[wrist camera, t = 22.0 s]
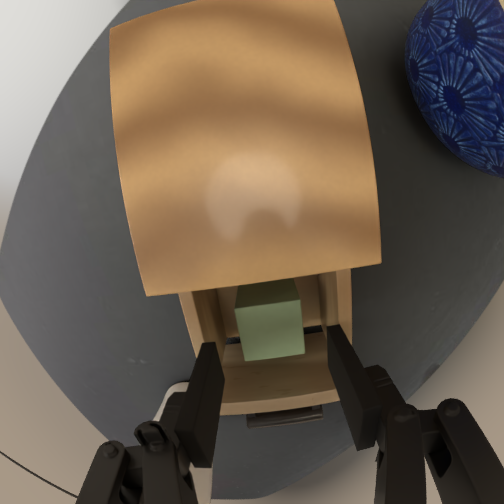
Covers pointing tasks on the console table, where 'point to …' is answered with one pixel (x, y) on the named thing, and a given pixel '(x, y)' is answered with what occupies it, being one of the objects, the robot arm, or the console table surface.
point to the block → (269, 319)
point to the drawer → (274, 369)
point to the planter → (461, 77)
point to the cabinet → (242, 144)
